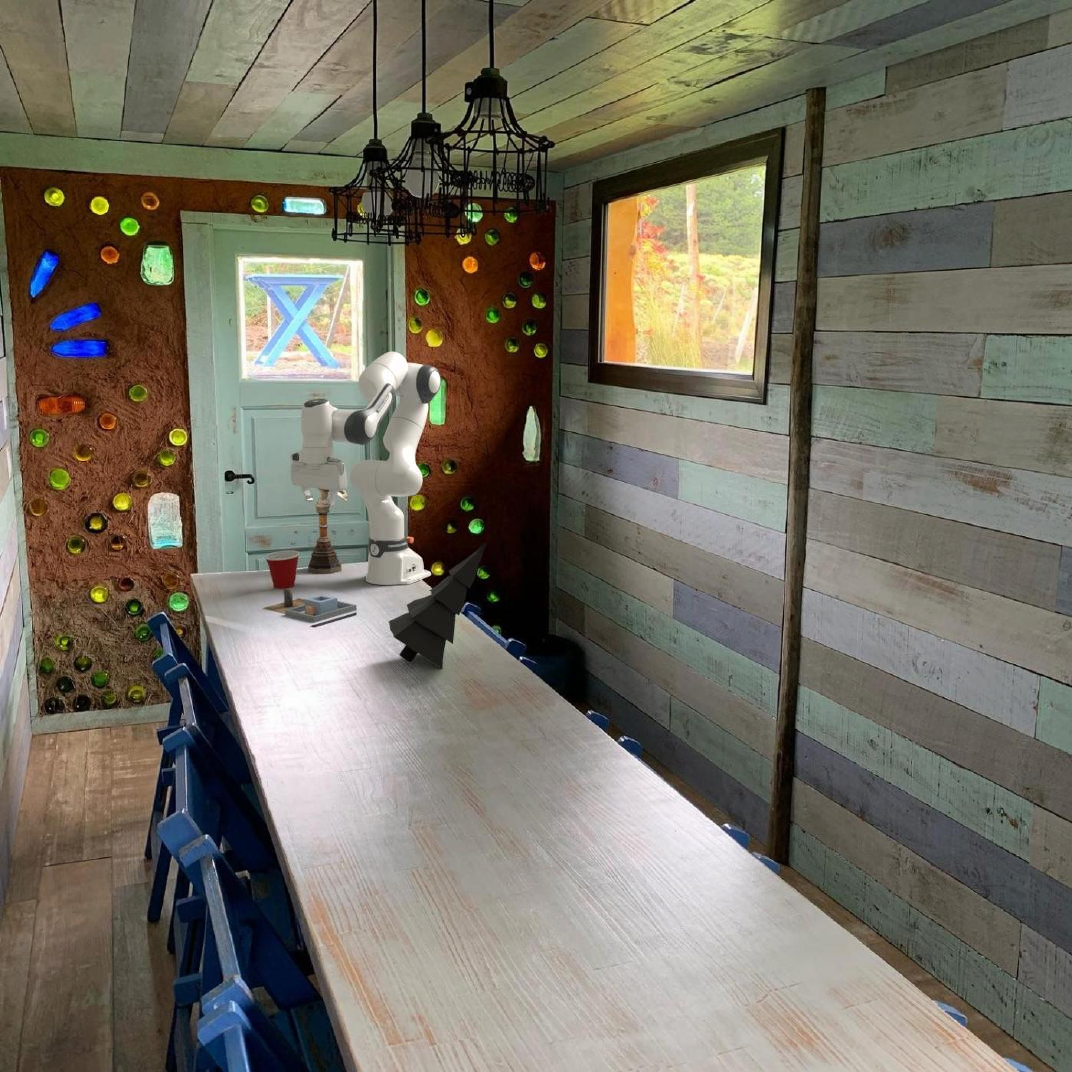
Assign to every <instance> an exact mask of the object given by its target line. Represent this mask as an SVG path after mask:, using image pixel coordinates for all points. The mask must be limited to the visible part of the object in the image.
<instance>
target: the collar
mask: <svg viewBox="0 0 1072 1072" xmlns="http://www.w3.org/2000/svg"><path fill="white" fill-rule="evenodd" d="M337 601H338V597H335V596H331V595H330V596H329V595H326V594H319V595H314V596H312V597H311V596H310V597H307V598H304V604H305V611H304V614H309V615H313V616H316V615H320V614H323V613H327V612H330V611H334V610H337V609H339V607H338V604H337Z"/></svg>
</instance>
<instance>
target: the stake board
mask: <svg viewBox="0 0 1072 1072" xmlns="http://www.w3.org/2000/svg"><path fill="white" fill-rule="evenodd" d="M293 595H294V594H293V589H292V588H287V589H283V599H284V600H283V602H281V603H280V602H279V603H277V604H273V605H269V606H265V607H262V609H264V610H268V611H270V612H271V611H272V612H275V613H280V614H284V615H285V610H287V609H291V608H294V607H298V606H302V605H305V604H304V599H305V598H304V599H303V598H296V599H295V598H293Z"/></svg>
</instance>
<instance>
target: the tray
mask: <svg viewBox="0 0 1072 1072" xmlns="http://www.w3.org/2000/svg"><path fill="white" fill-rule="evenodd" d="M337 604H338V609H337V610H334V611H330V612H327V613H323V614H320V615H316V616H314V615H310V614H306V613H305V605H302V606H298V607H294V608H291V609H287V610H285V614H284V616H287V617H290V618H295V619H299V620H303V621H308V622H311V623H316V624H312V625H310V627H311V628H318V627H321V626H325V625H328V624H329V625H330V624H331V623H334V622H338V621H341V620H346V619H349V618H352V617H355V616H357V615H358V614H357V612H355V611H357V604H353V603H349V602H344V601H340V600H337ZM352 612H353V613H352ZM348 613H349V614H348ZM345 614H346V615H345ZM339 616H340V617H339ZM335 617H336V618H335ZM328 619H330V620H328ZM325 620H326V621H325ZM321 621H323V622H321Z"/></svg>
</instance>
